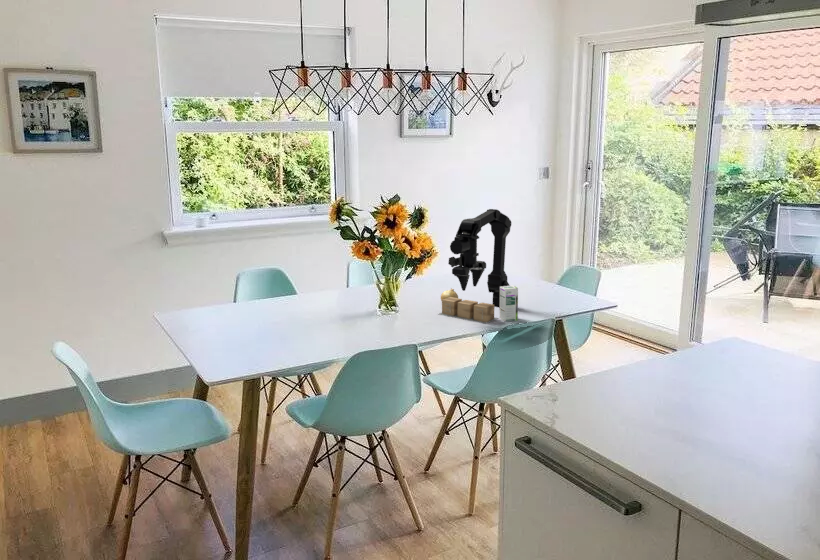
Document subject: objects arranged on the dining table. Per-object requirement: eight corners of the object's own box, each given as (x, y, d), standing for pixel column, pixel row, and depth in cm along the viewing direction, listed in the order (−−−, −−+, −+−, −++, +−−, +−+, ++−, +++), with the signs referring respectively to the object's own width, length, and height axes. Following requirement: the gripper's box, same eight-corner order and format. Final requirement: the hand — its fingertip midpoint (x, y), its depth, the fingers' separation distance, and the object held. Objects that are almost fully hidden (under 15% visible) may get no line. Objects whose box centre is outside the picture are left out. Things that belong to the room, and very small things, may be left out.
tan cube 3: (450, 310, 295) (450, 296, 294) (461, 312, 292) (461, 299, 290) (441, 313, 291) (441, 299, 289) (453, 315, 287) (453, 301, 286)
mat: (451, 311, 298) (451, 309, 298) (498, 320, 283) (498, 318, 283) (437, 316, 290) (437, 314, 290) (485, 326, 276) (485, 323, 275)
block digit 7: (481, 316, 286) (481, 302, 284) (494, 318, 282) (494, 304, 281) (473, 319, 281) (473, 305, 280) (485, 322, 277) (486, 307, 276)
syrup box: (504, 323, 278) (505, 288, 275) (499, 320, 284) (499, 285, 281) (517, 322, 280) (518, 287, 277) (511, 318, 285) (512, 284, 282)
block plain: (465, 313, 291) (465, 299, 289) (477, 315, 287) (477, 301, 286) (457, 316, 286) (457, 302, 285) (469, 318, 282) (469, 304, 281)
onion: (457, 306, 306) (457, 291, 304) (439, 306, 307) (439, 290, 306) (459, 302, 313) (459, 287, 312) (442, 301, 315) (442, 286, 313)
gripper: (463, 245, 292) (463, 282, 295) (440, 252, 277) (440, 290, 280) (487, 248, 286) (486, 285, 289) (465, 255, 270) (464, 293, 274)
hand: (469, 288), depth 283 cm, fingers open, 9 cm apart
